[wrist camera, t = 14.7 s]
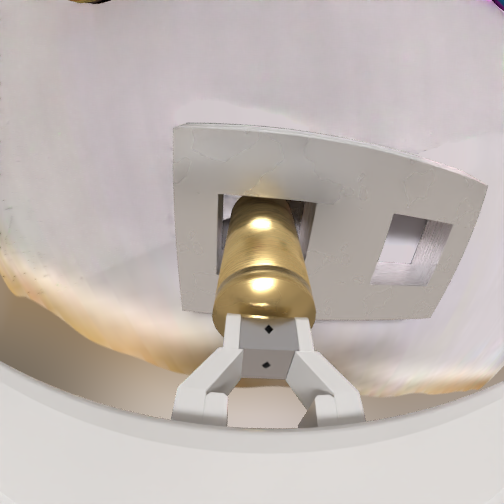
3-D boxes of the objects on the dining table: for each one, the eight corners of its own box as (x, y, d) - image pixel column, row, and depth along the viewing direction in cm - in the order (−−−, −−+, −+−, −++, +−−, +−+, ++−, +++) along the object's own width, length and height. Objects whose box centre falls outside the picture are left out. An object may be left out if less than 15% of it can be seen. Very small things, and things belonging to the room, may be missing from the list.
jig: (464, 171, 15) (488, 185, 13) (416, 295, 22) (429, 317, 19) (187, 122, 15) (173, 128, 12) (190, 283, 21) (182, 310, 18)
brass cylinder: (295, 192, 17) (327, 281, 9) (287, 246, 19) (304, 351, 11) (232, 187, 17) (211, 274, 9) (229, 242, 19) (213, 347, 11)
